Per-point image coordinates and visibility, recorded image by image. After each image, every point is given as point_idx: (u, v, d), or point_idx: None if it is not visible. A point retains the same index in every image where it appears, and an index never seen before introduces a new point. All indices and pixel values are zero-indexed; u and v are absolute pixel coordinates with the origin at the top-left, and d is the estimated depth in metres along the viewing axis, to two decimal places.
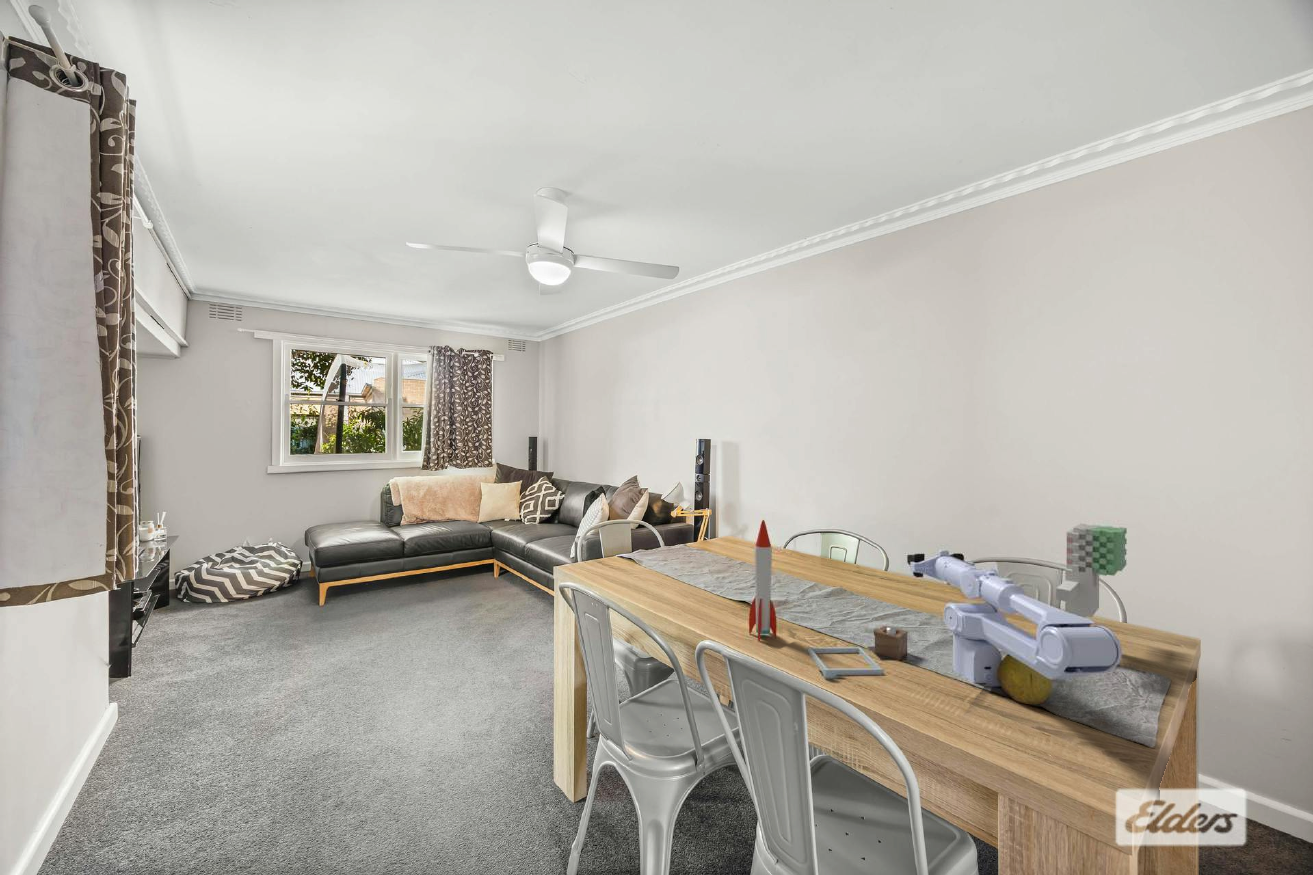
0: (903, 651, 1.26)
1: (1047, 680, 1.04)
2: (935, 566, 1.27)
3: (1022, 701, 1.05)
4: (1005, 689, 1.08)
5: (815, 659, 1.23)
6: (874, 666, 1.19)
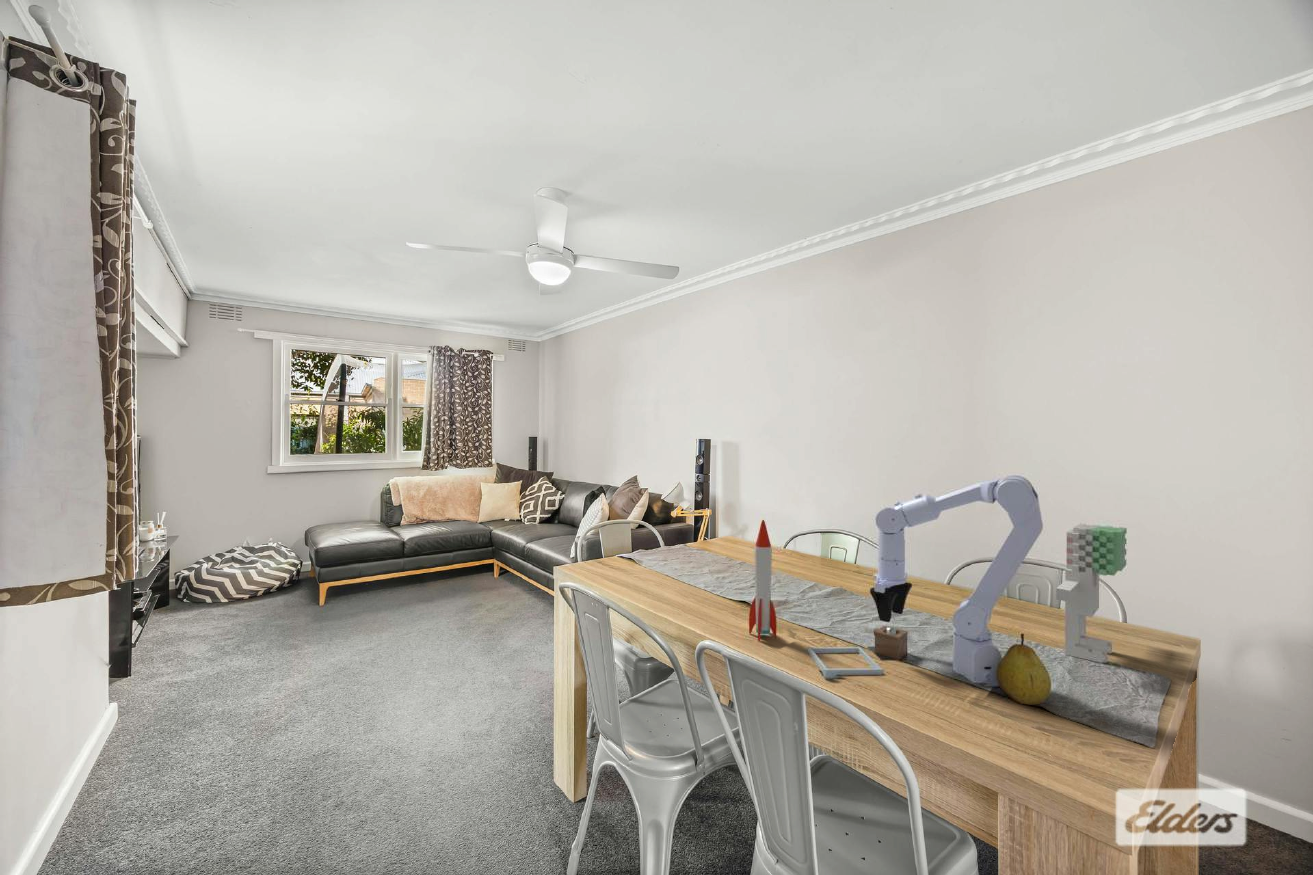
0: (903, 651, 1.26)
1: (1046, 679, 1.04)
2: (884, 575, 1.26)
3: (1025, 702, 1.05)
4: (1006, 692, 1.07)
5: (815, 659, 1.23)
6: (874, 666, 1.19)
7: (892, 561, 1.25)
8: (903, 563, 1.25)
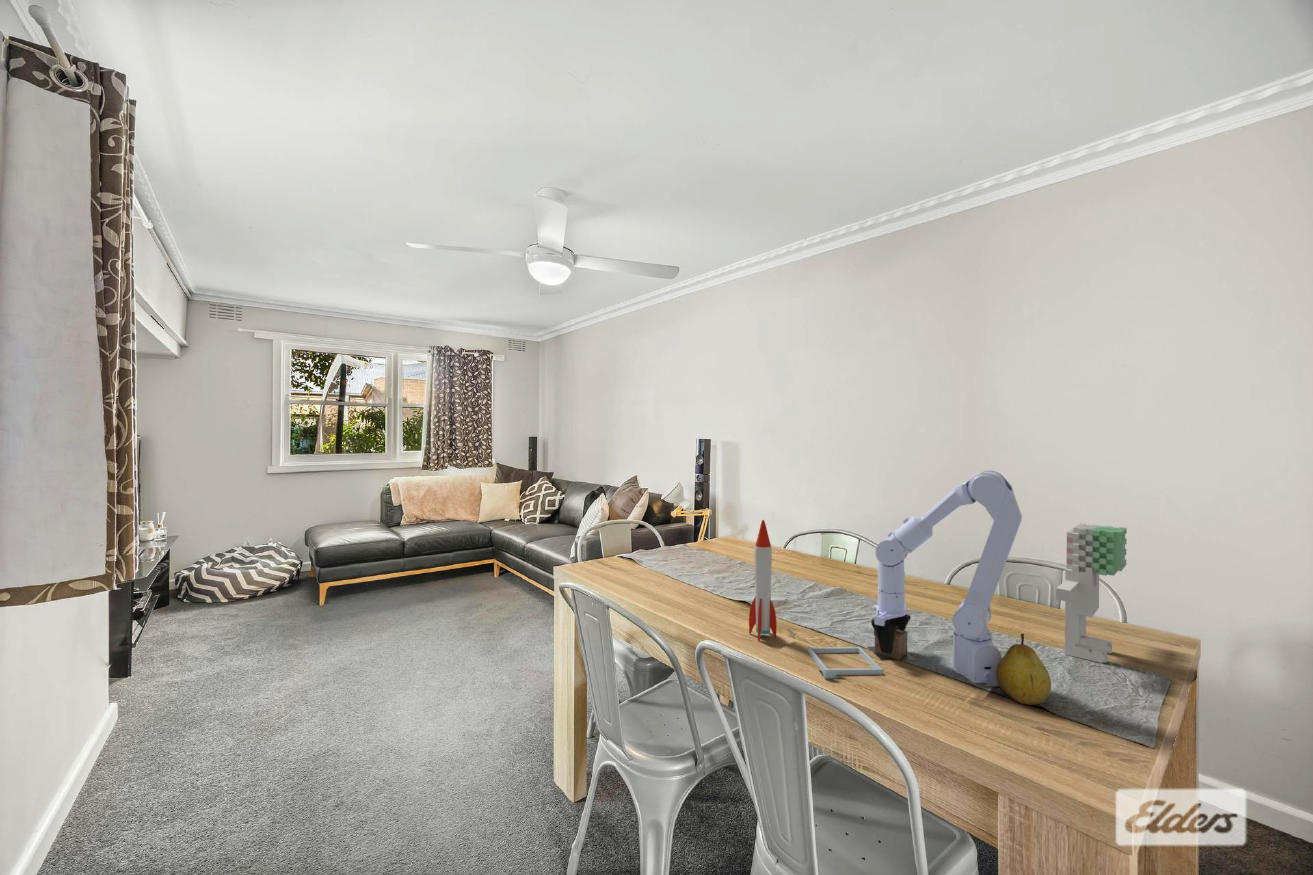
0: (903, 651, 1.26)
1: (1046, 679, 1.04)
2: (884, 607, 1.26)
3: (1025, 702, 1.05)
4: (1006, 692, 1.07)
5: (815, 659, 1.23)
6: (874, 666, 1.19)
7: (892, 593, 1.25)
8: (903, 595, 1.25)
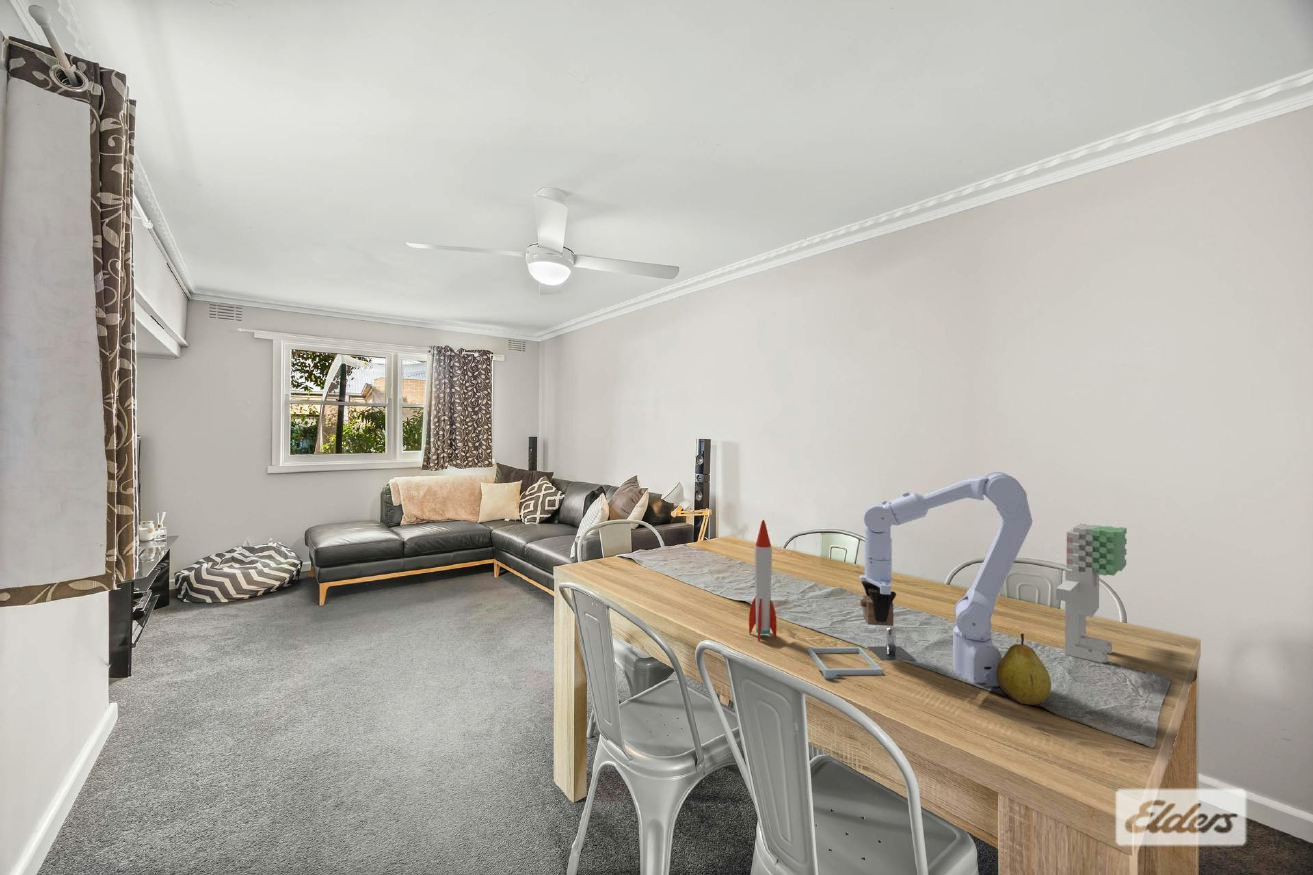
0: None
1: (1046, 679, 1.04)
2: (878, 575, 1.23)
3: (1025, 702, 1.05)
4: (1006, 692, 1.07)
5: (815, 659, 1.23)
6: (874, 666, 1.19)
7: (886, 560, 1.23)
8: None
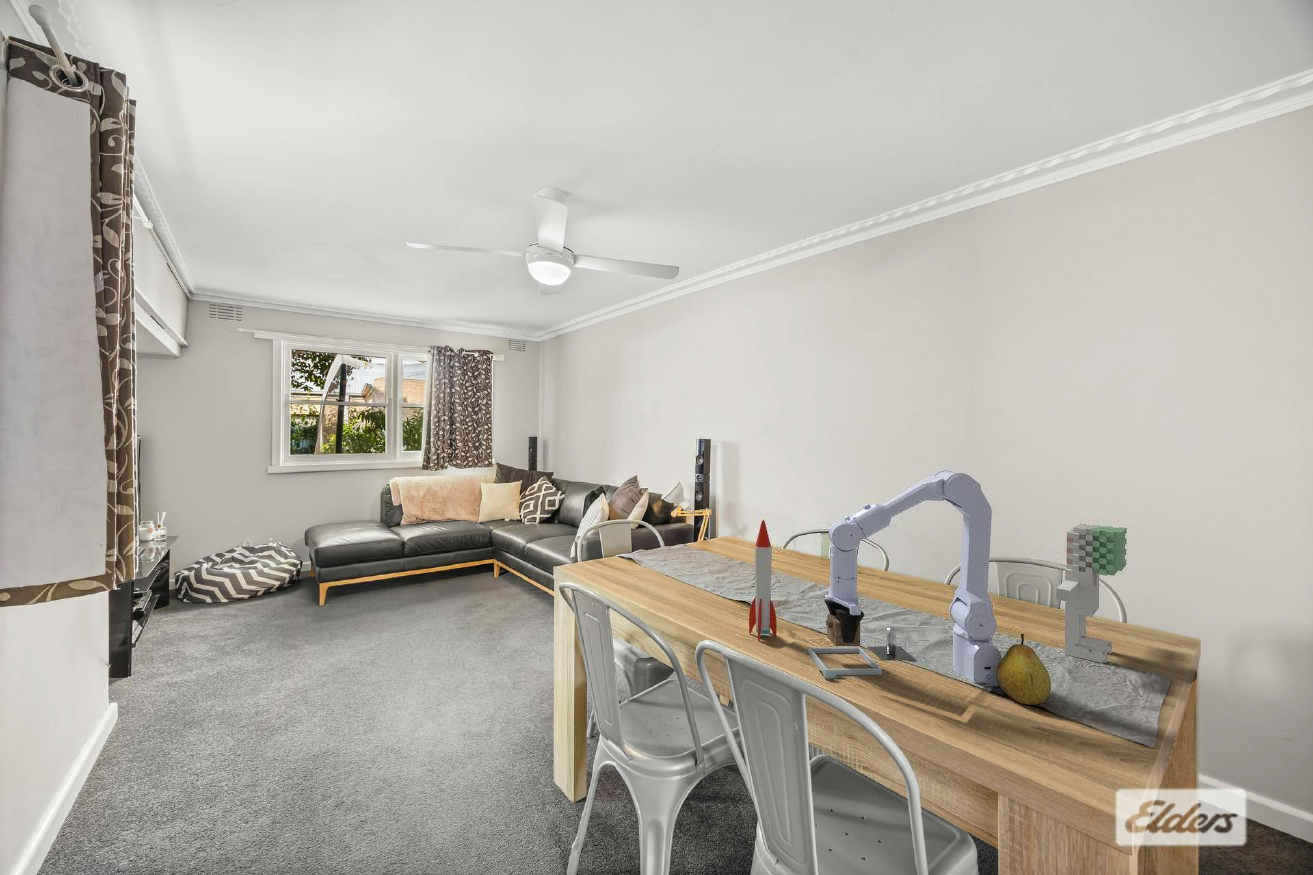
0: None
1: (1046, 679, 1.04)
2: (845, 595, 1.19)
3: (1025, 702, 1.05)
4: (1006, 692, 1.07)
5: (815, 659, 1.23)
6: (874, 666, 1.19)
7: (853, 579, 1.20)
8: None
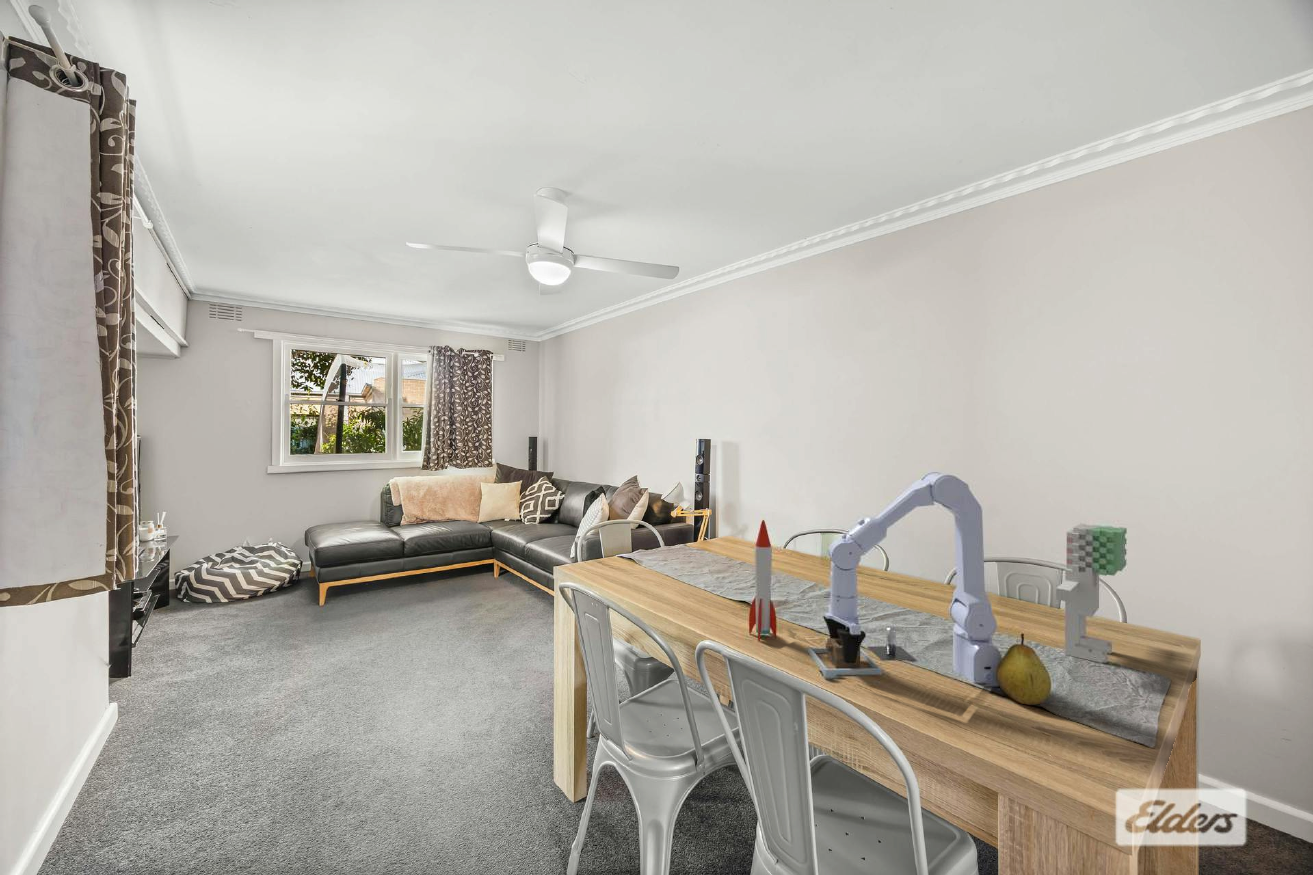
0: None
1: (1046, 679, 1.04)
2: (845, 613, 1.19)
3: (1025, 702, 1.05)
4: (1006, 692, 1.07)
5: (815, 659, 1.23)
6: (874, 666, 1.19)
7: (853, 598, 1.20)
8: None
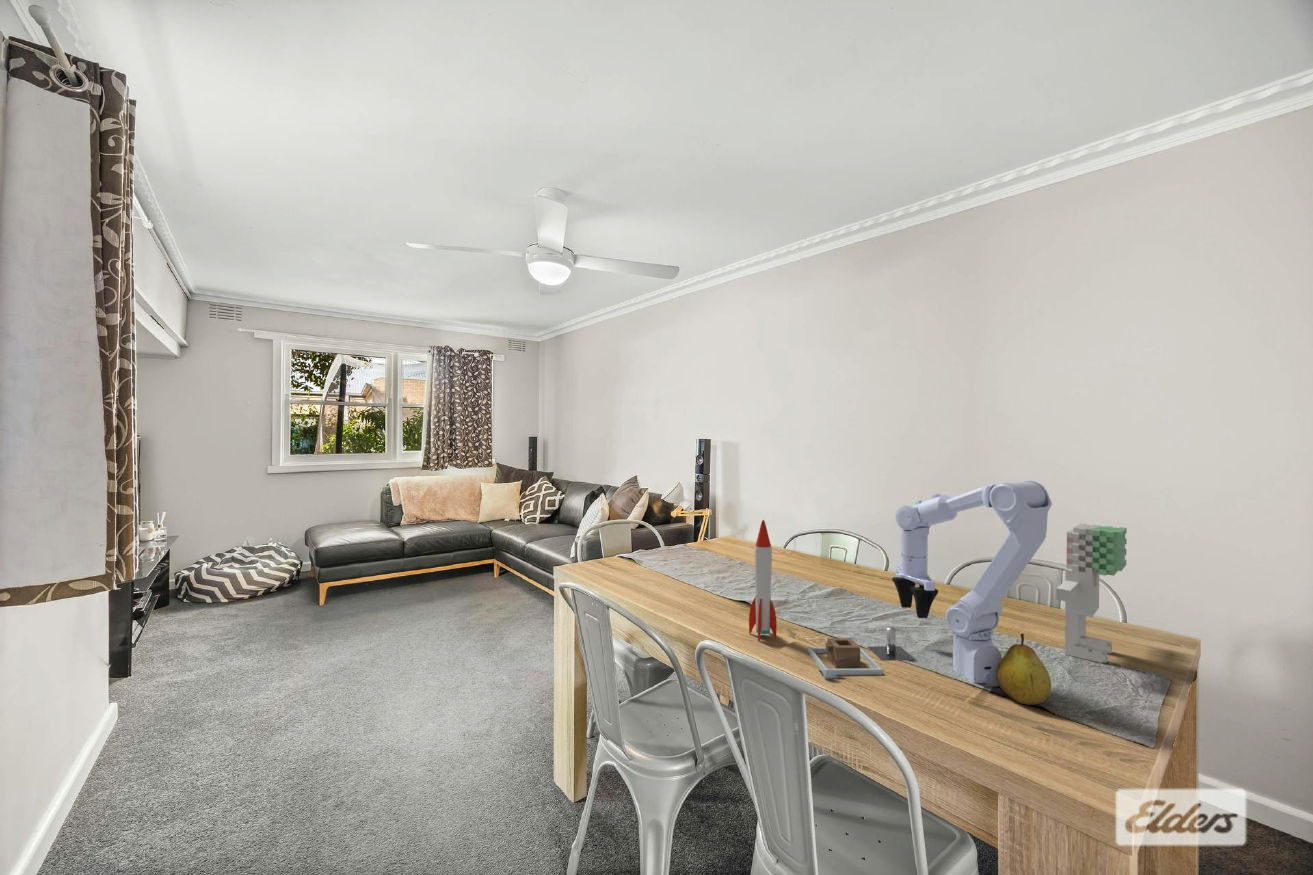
0: None
1: (1046, 679, 1.04)
2: (917, 572, 1.28)
3: (1025, 703, 1.05)
4: (1006, 692, 1.07)
5: (815, 659, 1.23)
6: (874, 666, 1.19)
7: (924, 558, 1.28)
8: None
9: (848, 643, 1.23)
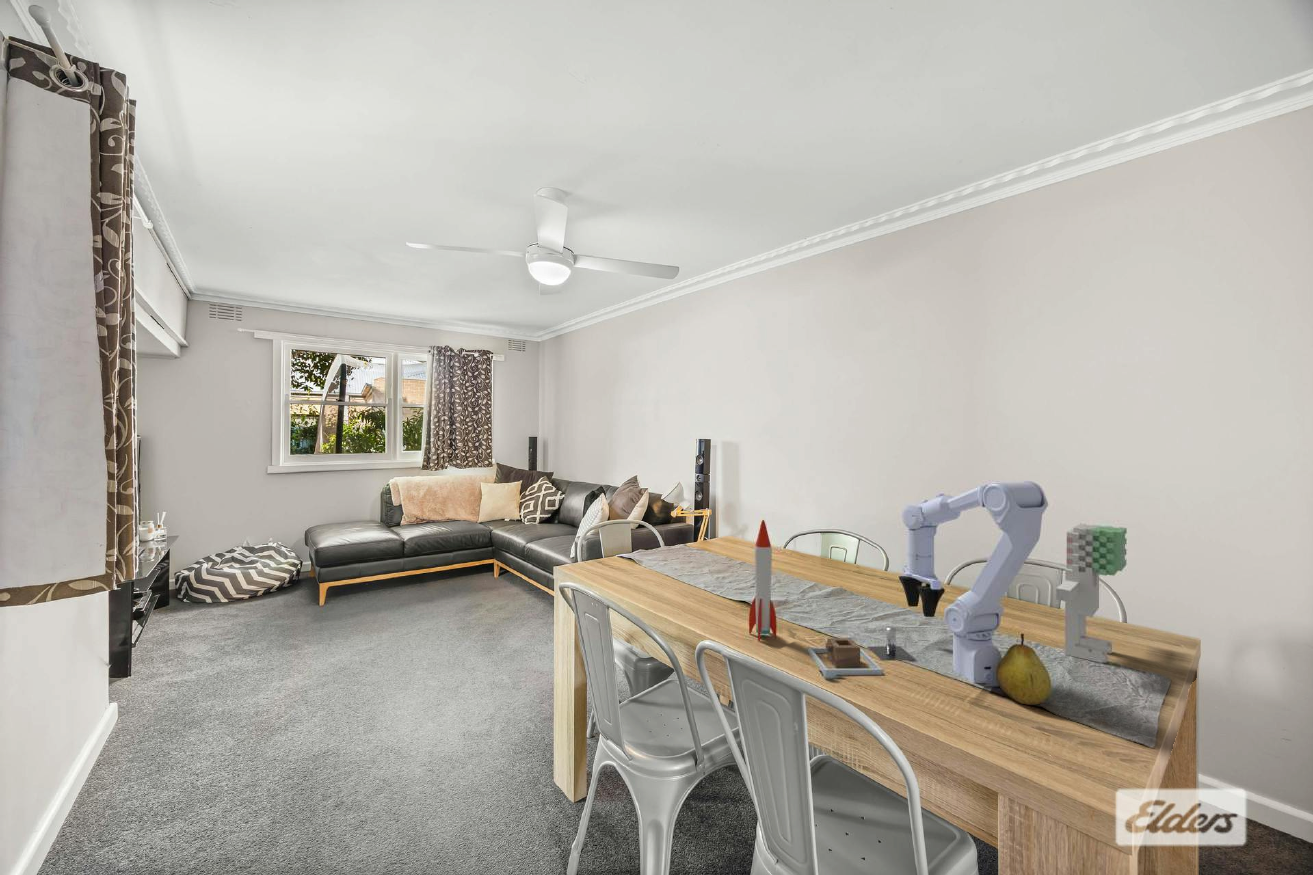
0: None
1: (1046, 679, 1.04)
2: (924, 571, 1.29)
3: (1025, 702, 1.05)
4: (1006, 692, 1.07)
5: (815, 659, 1.23)
6: (874, 666, 1.19)
7: (931, 557, 1.29)
8: None
9: (848, 643, 1.23)
